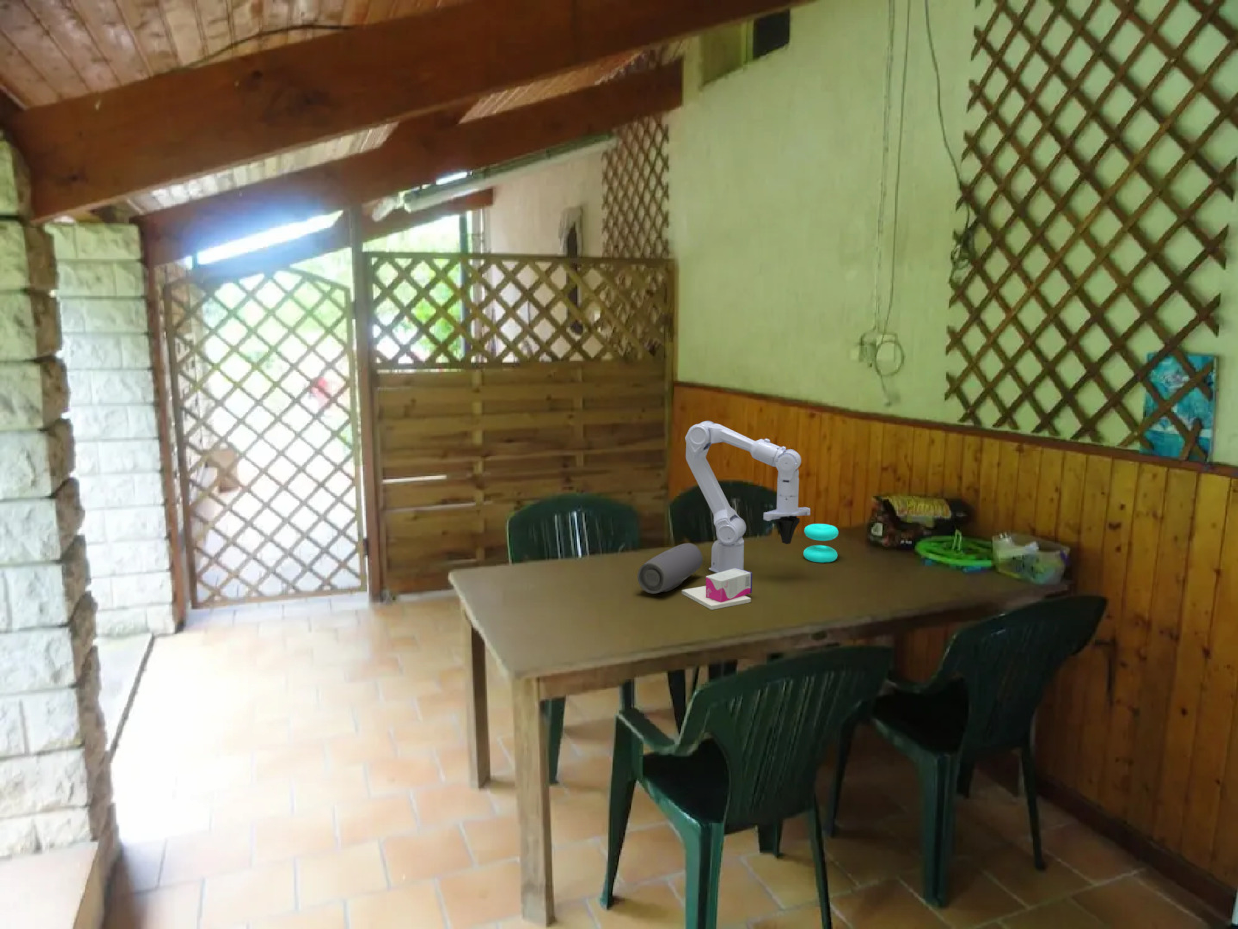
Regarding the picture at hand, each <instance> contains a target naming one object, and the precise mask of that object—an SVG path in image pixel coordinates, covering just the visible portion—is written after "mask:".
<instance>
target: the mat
mask: <svg viewBox="0 0 1238 929" xmlns="http://www.w3.org/2000/svg"><path fill="white" fill-rule="evenodd" d="M681 594H682V595H684V596H686V597H687V598H689V599H691V600H692V601H694V602H696V603H698V604H700V605H702V606H703V607H705V608H707V609H709V610H717V609H723V608H729V607H733V606H738V605H744V604H747V603H751V601H752V598H751V597H749V596H747V595H744V596H740V597H737V598H734V599H731V600H727V601H724V602H719V601H716V600H714V599H711V598H708V597H706V585H703V586H697V587H692V588H685V589H682V590H681Z"/></svg>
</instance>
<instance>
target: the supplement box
mask: <svg viewBox="0 0 1238 929" xmlns="http://www.w3.org/2000/svg"><path fill="white" fill-rule="evenodd" d="M705 586H706V597H708V598H711V599H714V600H716V601H719V602H724V601H727V600H731V599H734V598H737V597H740V596H744V595H745V596H747V595H749V594H752V593H753V589H752V588H753V572H752V571H750V570H745V569H743V570H742V569H739V568H734V569H730V570H727V571H723V572H720V573H713V574H710V575H706V576H705Z"/></svg>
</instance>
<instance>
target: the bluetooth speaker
mask: <svg viewBox="0 0 1238 929" xmlns="http://www.w3.org/2000/svg"><path fill="white" fill-rule="evenodd" d="M703 562H704V559H703V555H702V552H701V550H700V549H699V547H698V546H697V545H695V544H694V543H690V542H686V543H682V544H679V545H677V546H674V547H671V548H670V549H667V550H665V551H663V552H661V553H660V554H657V555H655V556H654V557H652V558H650V559H649V560H648V561H646V562H644V564H642V565H641V566H640V567H639V569H638V571H637V582H638V585H639V586H640V588H641V589H642V590H643V591H644V592H646V593H649V594H659V593H662V592H666V593H667V592H670V591H672V590H674V589H676V588H677V587H679V586H680V585H682V584H683V582H684V581H685V580H686V579H688V578H689V577H690V576H691V575H693V574H695V573H696V572H697V571H698V570H699V569H700V568H701V567H702V564H703Z"/></svg>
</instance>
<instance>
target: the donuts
mask: <svg viewBox="0 0 1238 929" xmlns="http://www.w3.org/2000/svg"><path fill="white" fill-rule="evenodd" d="M803 532H804V534H805V536H806V537H807V538H809V539H810V540H815V541H820V542H821V541H822V542H825V541H832V540H834V539H836V538H837V537H838V536H839V530H838V527H836V526H835V525H832V524H831V525H830V524H827V523H811V524H808V525H807V526H805V528H804V530H803ZM803 557H804V558H805V559H806V560H808V561H810V562H814V563H821V564H822V563H824V564H826V563H831V562H834V561H836V560H837V558H838V552H837V550H836V549H834V548H833V547H831V546H828V545H822V544H816V545H815V544H814V545H810V546H807V547H806V548H805V549H804V550H803Z"/></svg>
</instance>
